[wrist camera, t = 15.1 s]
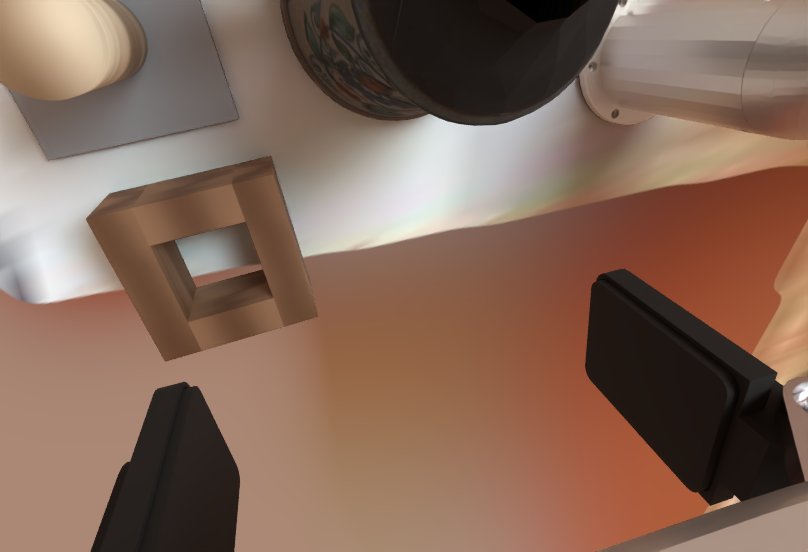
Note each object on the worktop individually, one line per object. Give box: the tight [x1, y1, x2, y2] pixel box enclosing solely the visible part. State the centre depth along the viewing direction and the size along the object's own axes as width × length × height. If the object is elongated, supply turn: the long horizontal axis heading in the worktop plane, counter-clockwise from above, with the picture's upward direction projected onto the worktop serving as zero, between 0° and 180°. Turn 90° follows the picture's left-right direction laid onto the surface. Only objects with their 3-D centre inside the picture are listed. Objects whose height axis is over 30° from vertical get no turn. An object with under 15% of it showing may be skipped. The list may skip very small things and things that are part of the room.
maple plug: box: [0, 0, 148, 101], centre depth 26 cm, size 5×5×12 cm
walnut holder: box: [86, 156, 318, 361], centre depth 38 cm, size 13×13×6 cm
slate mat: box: [7, 0, 239, 161], centre depth 32 cm, size 14×14×1 cm
